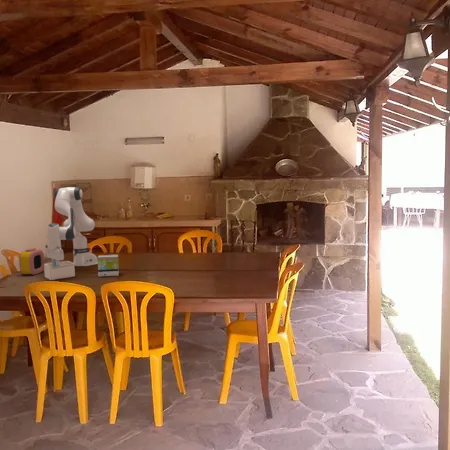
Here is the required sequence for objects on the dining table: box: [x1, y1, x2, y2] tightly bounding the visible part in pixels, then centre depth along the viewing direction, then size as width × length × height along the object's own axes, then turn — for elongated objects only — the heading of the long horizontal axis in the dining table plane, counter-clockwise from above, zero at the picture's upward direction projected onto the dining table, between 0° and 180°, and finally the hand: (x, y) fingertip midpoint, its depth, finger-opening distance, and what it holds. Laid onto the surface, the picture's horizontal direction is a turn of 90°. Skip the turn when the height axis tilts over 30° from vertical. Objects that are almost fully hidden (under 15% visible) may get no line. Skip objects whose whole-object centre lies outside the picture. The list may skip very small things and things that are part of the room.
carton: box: [43, 260, 76, 281], centre depth 368 cm, size 18×14×10 cm
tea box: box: [97, 254, 120, 277], centre depth 370 cm, size 15×10×15 cm, turn 101°
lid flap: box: [51, 261, 75, 280], centre depth 361 cm, size 17×2×12 cm, turn 133°
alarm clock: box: [18, 247, 45, 276], centre depth 382 cm, size 18×11×19 cm, turn 168°
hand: (55, 265), depth 357 cm, fingers open, 3 cm apart
